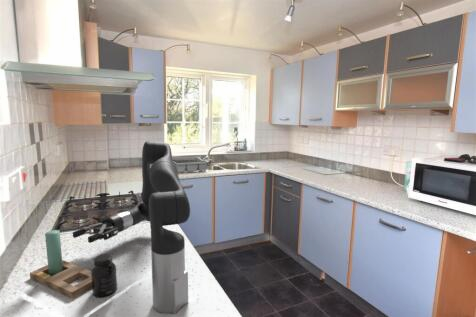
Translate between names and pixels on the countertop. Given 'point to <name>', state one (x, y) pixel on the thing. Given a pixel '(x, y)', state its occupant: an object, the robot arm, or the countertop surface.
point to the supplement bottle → (103, 276)
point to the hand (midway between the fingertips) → (80, 237)
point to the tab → (88, 265)
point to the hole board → (64, 279)
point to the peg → (54, 252)
